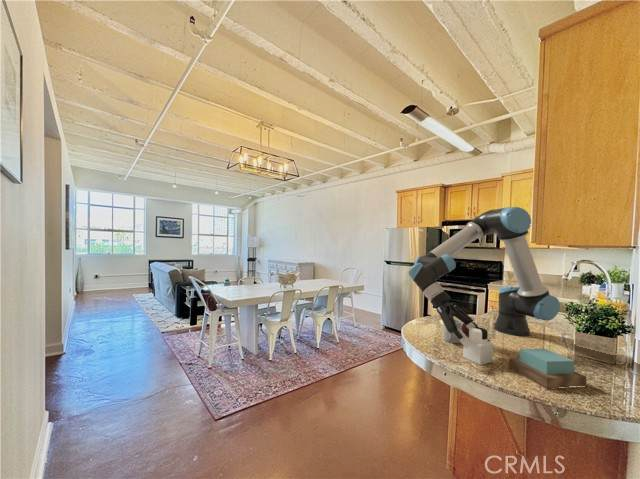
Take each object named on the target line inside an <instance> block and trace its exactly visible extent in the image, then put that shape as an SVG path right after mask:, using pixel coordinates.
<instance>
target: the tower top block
mask: <svg viewBox="0 0 640 479" xmlns="http://www.w3.org/2000/svg"><path fill="white" fill-rule="evenodd" d="M519 358H520V360H519V361H521V362H523V363H525V364H527V365H529V366H531V367H533V368H535V369H537V370H539V371H541V372H543V373H545V374H574V371H575V367H576V366H575V362H576V361H575V360H573V359H571V358H569V357H566V356H563V355H561V354H559V353H556V352H553V351H551V350H548V349H547V348H520V349H519Z"/></svg>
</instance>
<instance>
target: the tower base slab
mask: <svg viewBox="0 0 640 479" xmlns="http://www.w3.org/2000/svg"><path fill="white" fill-rule="evenodd" d="M519 360H520V357H518V358H517V357H514V358H513V357H510V358H508V369H510V370H511V371H514V372H515V373H517V374H519V375H521V376H523V377H525V378H526V379H528V380H529V381H531V382H533V383H535V384H537V385H539V386H541V387H542V388H544V389H545V390H551V389H550V388H559V387H569V386H586V387H587V376H586V375H584V374H581V373H579V372H577V371H575V370H574V374H545V373H543V372H541V371H539V370H537V369H535V368H533V367H531V366H529V365H527V364H525V363H523V362H521V361H519Z"/></svg>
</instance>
